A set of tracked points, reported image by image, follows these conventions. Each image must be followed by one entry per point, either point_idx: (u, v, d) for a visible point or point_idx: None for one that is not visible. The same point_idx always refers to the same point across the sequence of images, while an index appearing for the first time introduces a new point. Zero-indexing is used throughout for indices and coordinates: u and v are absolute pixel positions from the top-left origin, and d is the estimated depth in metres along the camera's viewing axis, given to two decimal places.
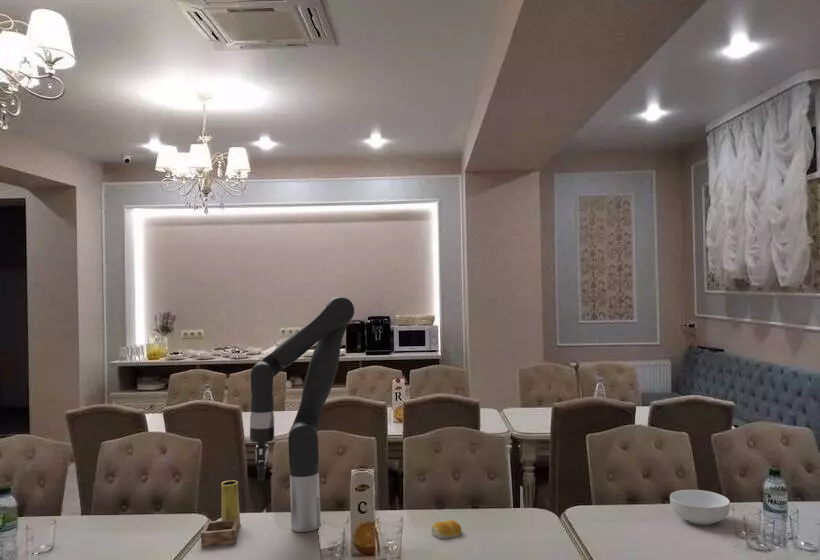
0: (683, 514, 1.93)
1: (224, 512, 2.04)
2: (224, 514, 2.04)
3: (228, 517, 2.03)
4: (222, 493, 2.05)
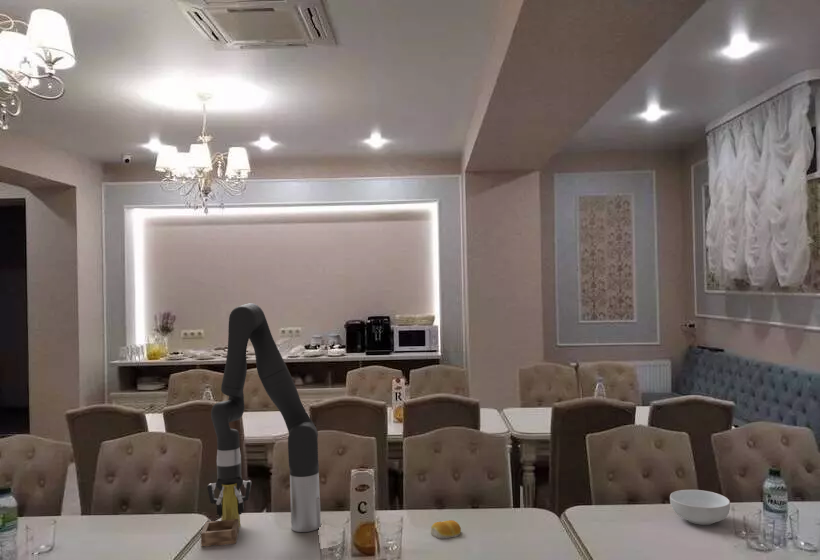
0: (683, 514, 1.93)
1: (224, 512, 2.04)
2: (224, 514, 2.04)
3: (228, 517, 2.03)
4: None
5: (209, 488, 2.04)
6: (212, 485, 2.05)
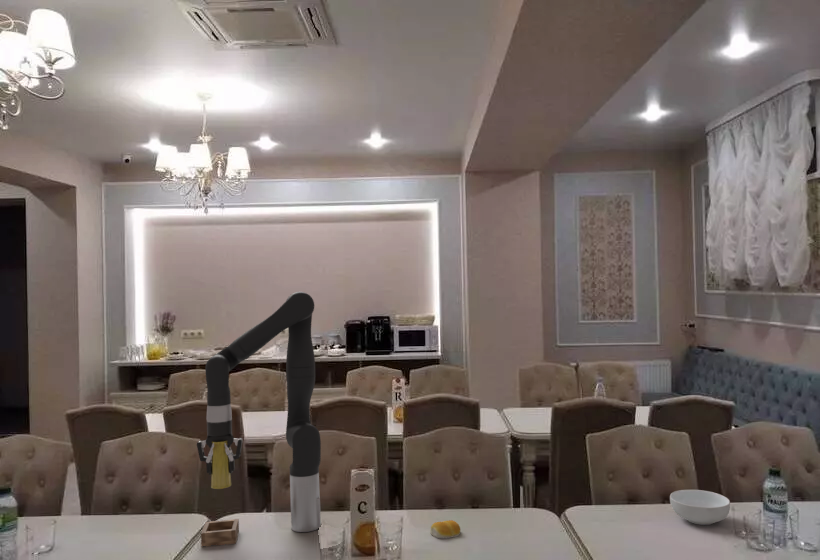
0: (683, 514, 1.93)
1: (214, 470, 1.96)
2: (214, 472, 1.96)
3: (218, 475, 1.96)
4: None
5: (198, 445, 1.96)
6: (202, 442, 1.97)
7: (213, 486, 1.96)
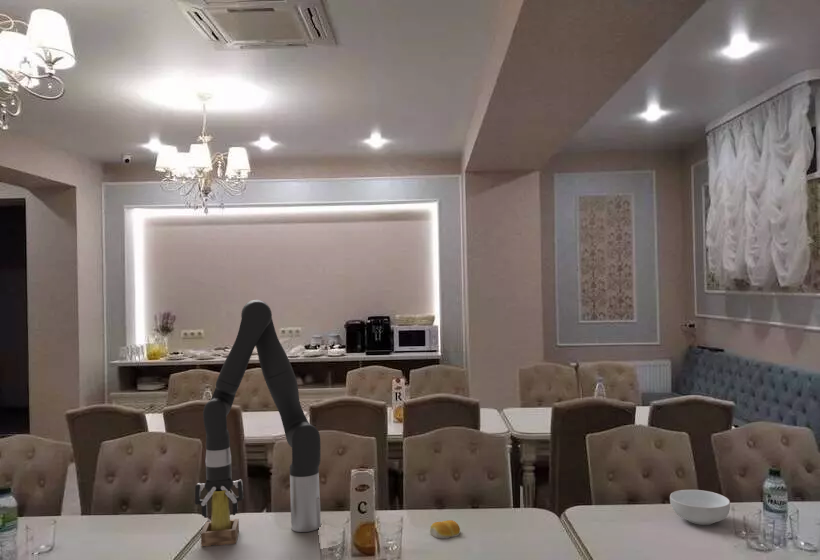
0: (683, 514, 1.93)
1: (214, 520, 1.93)
2: (214, 522, 1.93)
3: (218, 525, 1.93)
4: (212, 500, 1.94)
5: (197, 488, 1.94)
6: (201, 485, 1.95)
7: None
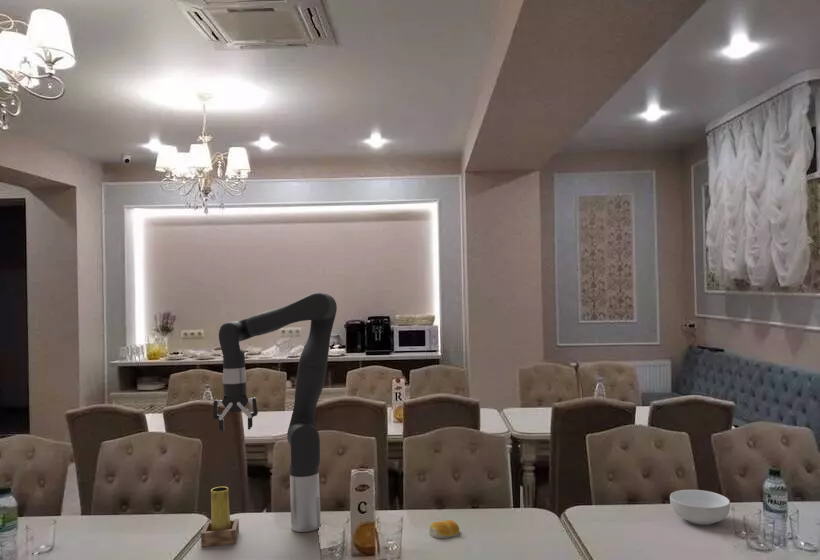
0: (683, 514, 1.93)
1: (214, 520, 1.93)
2: (214, 522, 1.93)
3: (218, 525, 1.93)
4: (212, 500, 1.94)
5: (215, 403, 2.10)
6: (218, 401, 2.11)
7: None
